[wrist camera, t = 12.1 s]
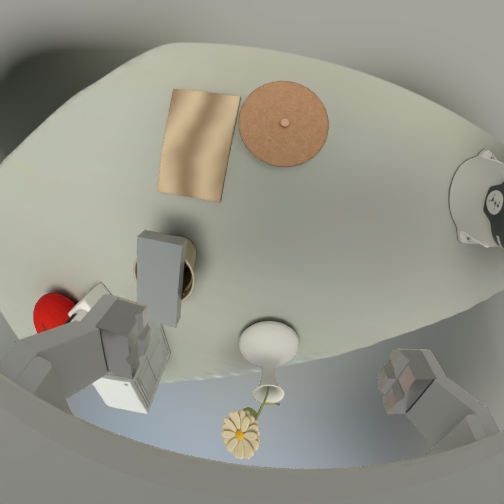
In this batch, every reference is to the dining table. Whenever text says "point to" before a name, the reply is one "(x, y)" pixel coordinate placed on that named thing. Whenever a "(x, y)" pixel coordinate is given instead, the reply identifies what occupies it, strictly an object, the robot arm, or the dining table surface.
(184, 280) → the flower pot
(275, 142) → the lidded jar
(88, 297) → the medicine bottle
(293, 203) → the dining table surface
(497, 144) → the dining table surface
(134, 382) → the supplement box
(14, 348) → the robot arm
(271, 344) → the flower in vase
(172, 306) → the slate tile
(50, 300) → the tomato
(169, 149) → the wooden board
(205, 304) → the dining table surface
